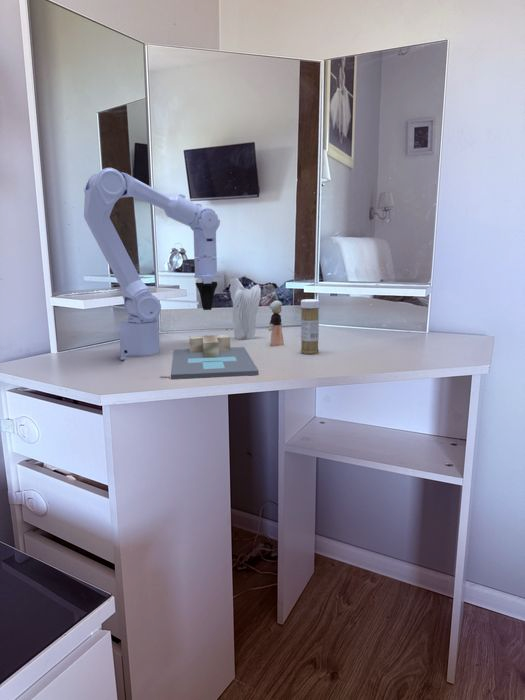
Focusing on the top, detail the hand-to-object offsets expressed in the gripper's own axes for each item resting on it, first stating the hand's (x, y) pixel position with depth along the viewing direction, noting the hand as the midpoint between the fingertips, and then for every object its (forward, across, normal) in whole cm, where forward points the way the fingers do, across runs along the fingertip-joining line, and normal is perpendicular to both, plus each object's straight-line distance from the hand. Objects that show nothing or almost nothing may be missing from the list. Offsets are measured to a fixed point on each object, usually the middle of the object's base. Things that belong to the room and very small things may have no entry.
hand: (207, 309), depth 128 cm
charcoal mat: (+10, -18, 0) cm, 21 cm away
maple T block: (+9, -11, 0) cm, 14 cm away
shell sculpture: (+11, +9, -11) cm, 18 cm away
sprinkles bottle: (+11, -11, -25) cm, 29 cm away
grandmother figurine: (+11, -3, -18) cm, 21 cm away
